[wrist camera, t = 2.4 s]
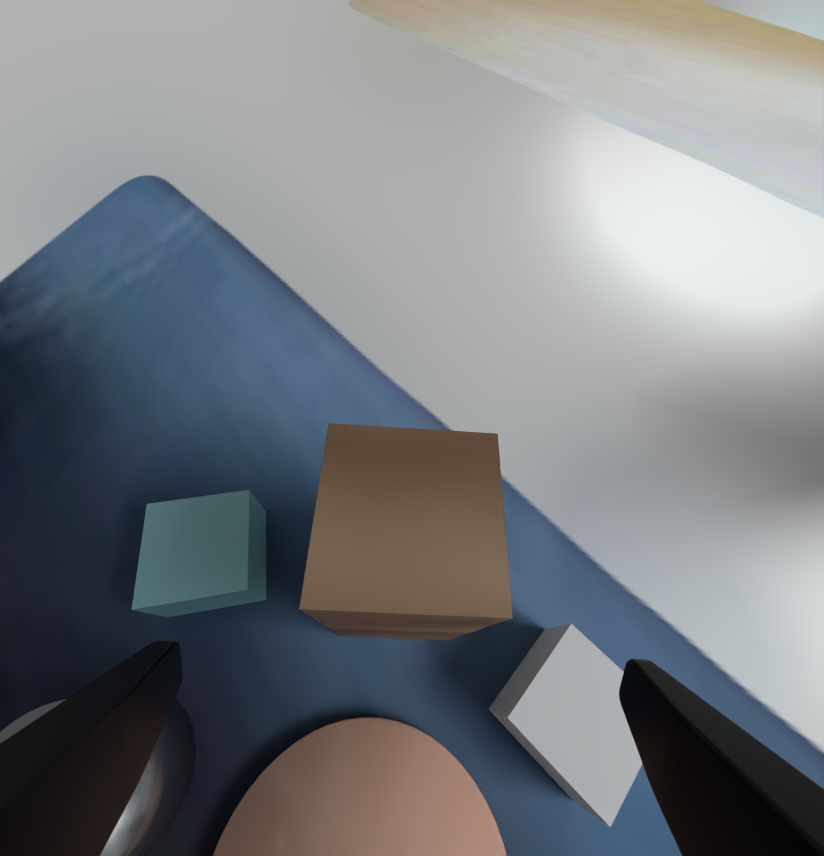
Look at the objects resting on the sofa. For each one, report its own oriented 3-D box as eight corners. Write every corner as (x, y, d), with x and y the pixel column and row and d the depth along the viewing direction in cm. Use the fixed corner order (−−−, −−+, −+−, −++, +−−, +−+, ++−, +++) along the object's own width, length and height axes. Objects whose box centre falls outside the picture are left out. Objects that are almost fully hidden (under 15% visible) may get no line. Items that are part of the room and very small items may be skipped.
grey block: (623, 704, 17) (668, 712, 14) (570, 798, 15) (610, 827, 13) (543, 629, 18) (571, 623, 15) (487, 708, 16) (507, 717, 14)
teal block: (267, 600, 18) (247, 589, 15) (169, 617, 17) (131, 609, 15) (266, 512, 20) (249, 489, 17) (178, 525, 19) (146, 503, 17)
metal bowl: (163, 877, 13) (87, 956, 10) (10, 862, 13) (-121, 935, 10) (214, 696, 16) (168, 707, 12) (85, 682, 16) (2, 690, 12)
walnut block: (447, 640, 17) (512, 618, 9) (340, 636, 17) (299, 609, 8) (446, 534, 20) (497, 433, 11) (352, 530, 19) (328, 423, 11)
